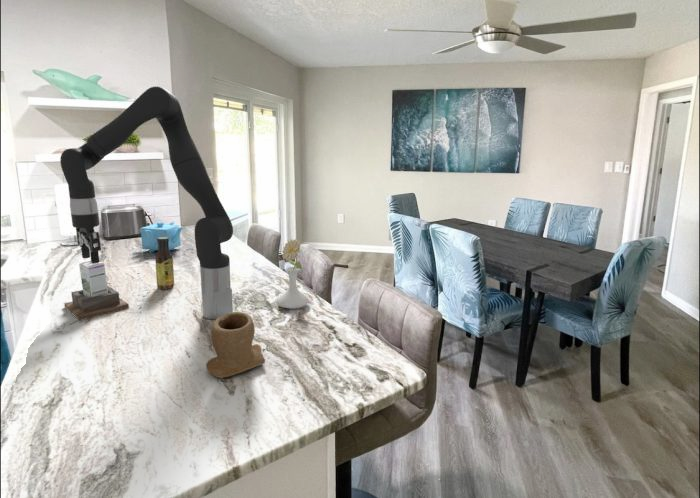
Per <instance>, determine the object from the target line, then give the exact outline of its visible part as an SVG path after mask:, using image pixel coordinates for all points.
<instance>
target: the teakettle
mask: <svg viewBox="0 0 700 498" xmlns="http://www.w3.org/2000/svg"><path fill="white" fill-rule="evenodd" d="M184 229H186V227H183V226H180V225H175V221H171V222H169V224H165V223H164V222H161V221H158V222H156V223H153V224H150V225H147V226H143V227H141V228H139V232H140V237H141V248H142V250H148V253H155V252H156V251H158V242H157V238H159V237H168V238H169V242H168V243H169V250H170V251H175V250H176V248H178V247H180V246H181V245H182V244H181V242H182V241H181V232H182V230H184Z"/></svg>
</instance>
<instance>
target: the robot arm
mask: <svg viewBox="0 0 700 498" xmlns="http://www.w3.org/2000/svg"><path fill="white" fill-rule="evenodd" d="M182 110H183V109H182V106H181V103H180V102H179V100H178V98H177V97H176V96H175V95H174V94H173V93H171V92H170V91H169V90H167V89H166V88H163V87H162V86H152V87H149V88H148V89H146V90H145V91H144V92H142V93H141V94H140V95H139V96H138V97H137V98H136V99H135V100H134V101H133V102H132V104H131V103H130V105H129V106H128V107H126V109H125V110H124V111H122V113H120V114H119V115H118V116H116V118H114V119H113V120H112V121H111V122H109V123H107V124H106V125H104V126H103V127H101V128H100V129H99V130H97V131H95V132H94V133H93V134H91V135H90V136H89V137H88V138H87V140H86V141H85V142H86V143H85V142H84V144H82V145H80V146H79V147H77V148H76V147H75V148H73V147H72V148H67V149H65V150H63V151H62V152H61V155H60V158H59V159H60V161H59V162H60V166H61V170H62V173H63V176H64V178H65V180H66V183H67V186H68V195H69V208H70V216H71V224H72V227H73V228H75V230H76V241H77V245H78V246H79V248H80V250H81V257H82V259H88V258H89V259H90V261H91V262H92V263H98V262H100V257H99V256H100V253H99V252H100V251H102V246H101V239H100V233H99V232H98V231H95V227H98V226H99V225H101V224H100V218H99V217H100V216H99V209H98V202H97V199H96V189H95V186H94V185H95V184H94V182H93V181H92V180H91V179H89V176H88V173H87V170H88V171H89V170H90V169H92V168H93V167H95V166H97V164H98V163H100V162H102V160H103V159H104V158H105V157H106V156H108V155H109V154H111V153H113V152H114V151H116V150H117V149H119V148H120V147H121V146H123V145H124V144H125V143H126V142H127V141H128V140H129V139H130V138H131V136H132V135H133V134H134V132H135V131H136V130H137V129H139V127H141V126H142V125H143V124H145V123H147V122H149V121H151V120H154V119H156V120H157V122H158V124H159V125H160V127H161V130H162V131H163V133H164V136H165V137H166V140H167V144H168V145H167V146H168V155H169V162H170V165H171V168H172V169H173V172H174V173H175V177H176V179H177V180H178V183H179V184H180V186H181V187H183V189H184V190H185V191H186V192H187V193H188V194H189V195H190V196H191V197H192V198H193V199H194V200H195V201H196V202H197V203H198V205H199V206H200V208H201V209H202V212H203V214H204V216H205V217H202V218H200V219H198V220H197V222H196V223H195V226H194V242H195V243H194V244H195V252H196V257H197V258H198V261H199V268H200V270H199V271H200V287H201V290H200V291H201V303H202V304H201V307H202V316H203V318H205V319H207V320H208V319H209V320H214V321H215V320H216V319H217V318H219V317H221V316H224V315H225V314H227V313H231V312H234V308H233V307H234V305H233V289H232V288H231V264H230V263H231V262H230V256H229V255H228V254H226V253H223V252H222V247H221V244H223V243H226V242H229V240H231V239H232V238H233V235H234V227H233V223H232V221H231V219H230V217H229V215H228V213H227V211H226V210H225V208H224V206H223V204H222V202H221V201H220V198H219V197H218V194H217V192H216V190H215V187H214V185H213V183H212V181H211V179H210V175H209V174H208V171H207V169H206V166H205V164H204V161H203V159H202V157H201V154H200V153H199V150H198V148H197V146H196V144H195V141H194V139H193V138H192V136H191V134H190V132H189V129H188V126H187V124H186V119H185V117H184V113H183V111H182Z"/></svg>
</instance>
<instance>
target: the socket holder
mask: <svg viewBox="0 0 700 498" xmlns="http://www.w3.org/2000/svg"><path fill="white" fill-rule="evenodd" d="M107 288H108V294H104V295H99V296H95V297H90V298H85V297H84V295H83V289H81V290H75V291H71V300H72V301H69V302H64V308H65V307H66V308H67V309H68V310H69V311H70V312H69V311H68V310H67V309H66V308H65V309H66V310H67V311H68V312H69V313H71V314H72V313H73V314H74V315H75V316H76V317H77V318H76V317H75V316H74V315H73V314H72V315H73V316H74V317H75V318H76V319H78V320H79V321H82V320H81V319H83V320H86V319H85V318H87V319H91V318H94V317H97V316H98V317H99V316H103V315H106V314H111V313H115V312H119V311H123V310H125V309H129V305H130V304H129V303H127V301H125V300H123V299H121V297H120V293H119V292H118V291H117V290H115V289H114V288H112V287H111V286H109V285H107ZM90 317H91V318H90Z"/></svg>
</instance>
